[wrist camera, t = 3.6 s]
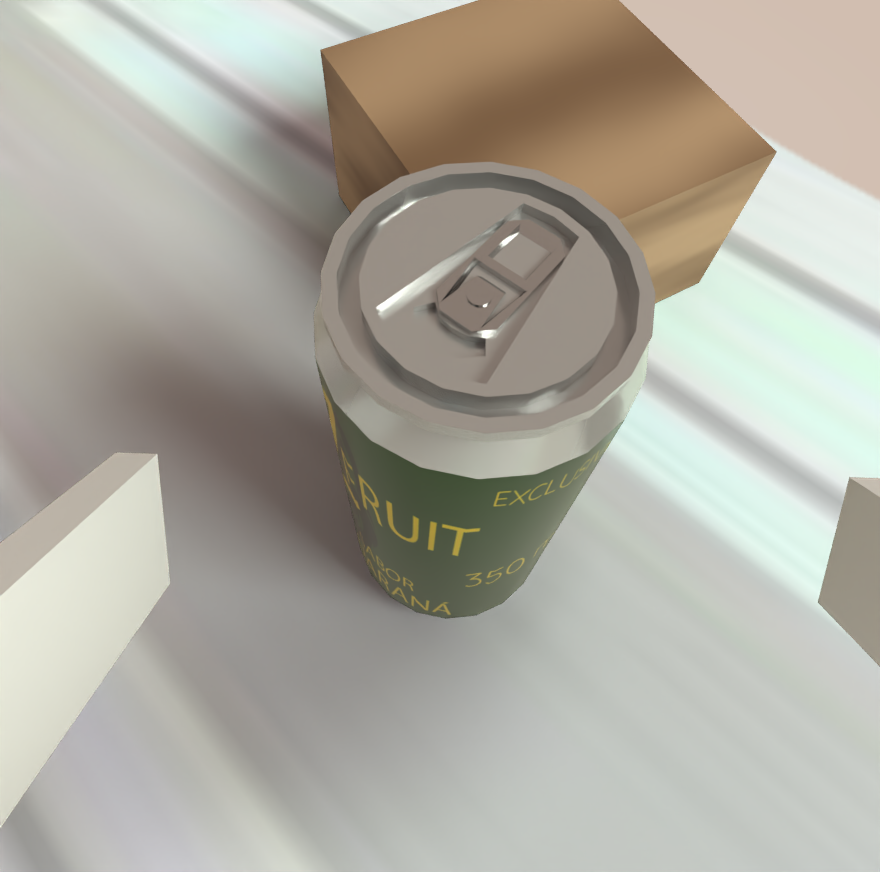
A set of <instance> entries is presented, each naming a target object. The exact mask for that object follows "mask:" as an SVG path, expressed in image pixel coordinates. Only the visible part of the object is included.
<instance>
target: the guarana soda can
mask: <svg viewBox="0 0 880 872" xmlns="http://www.w3.org/2000/svg"><path fill="white" fill-rule="evenodd" d="M655 295H656V293H655V290H654V287H653V283H652V280H651V277H650V273H649V270H648V267H647V264H646V260H645V257H644V254H643V252H642V250H641V249H640V248H639V246H638V245H637V243H636V242H635V241H634V239H633V238H632V236H631V235H630V234H629V232H628V231H627V230H626V228H625V227H624V225H623V224H622V223H621V221H620V220H619V219H618V217H617V216H615V215H614V214H613V213H612V212H610V211H609V210H608V209H606V208H605V207H604V206H603V205H601V204H600V203H599V202H597V201H596V200H595V199H594V198H592V197H591V196H590V195H588V194H587V193H586V192H584V191H583V190H582V189H580V188H578V187H576V186H573V185H571V184H569V183H566V182H564V181H562V180H559V179H557V178H555V177H553V176H550V175H548V174H546V173H543V172H541V171H539V170H534V169H529V168H523V167H518V166H512V165H506V164H501V163H495V162H476V163H456V164H443V165H439V166H436V167H432V168H429V169H426V170H422V171H419V172H416V173H412V174H409V175H406V176H402V177H399V178H398V179H396V180H395V181H393V182H391V183H390V184H388V185H387V186H385V187H383V188H382V189H380V190H379V191H377V192H375V193H374V194H372V195H371V196H369V197H367V198H366V199H364V200H362V202H361V203H360V204H359V205H358V206H357V207H356V209H355V210H354V211H353V212H352V213H351V215H350V216H349V217H348V218H347V219H346V220H345V222H344V223H343V224H342V225H341V226H340V227H339V229H338V230H337V231H336V232H335V234H334V237H333V239H332V242H331V245H330V248H329V250H328V253H327V256H326V259H325V261H324V264H323V267H322V270H321V294H320V296H319V299H318V302H317V305H316V308H315V310H314V337H315V359H316V363H317V367H318V371H319V376H320V380H321V384H322V388H323V393H324V397H325V401H326V405H327V409H328V414H329V418H330V422H331V426H332V431H333V435H334V439H335V443H336V447H337V452H338V456H339V460H340V464H341V468H342V473H343V477H344V481H345V485H346V490H347V494H348V498H349V502H350V506H351V511H352V515H353V519H354V523H355V527H356V532H357V536H358V540H359V544H360V548H361V551H362V553H363V556H364V558H365V561H366V563H367V566H368V568H369V570H370V573H371V575H372V576H373V577H374V578H375V580H376V581H377V582H378V583H379V584H380V585H381V586H382V588H383V589H384V590H385V591H386V592H387V593H388V595H389V596H390V597H392V598H393V599H395V600H397V601H398V602H400V603H402V604H404V605H405V606H407V607H409V608H410V609H412V610H414V611H415V612H418V613H423V614H428V615H432V616H437V617H441V618H455V617H465V616H474V615H478V614H480V613H482V612H484V611H486V610H489V609H491V608H493V607H495V606H497V605H500V604H502V603H503V602H504V601H505V600H506V599H507V598H509V597H510V596H511V595H512V594H513V593H514V592H515V591H516V590H517V589H518V588H519V587H520V586H521V585H522V584H523V583H524V582H525V580H526V579H527V577H528V575H529V574H530V572H531V570H532V569H533V567H534V566H535V564H536V562H537V561H538V559H539V557H540V556H541V554H542V553H543V551H544V549H545V548H546V546H547V544H548V543H549V541H550V540H551V538H552V536H553V535H554V533H555V532H556V530H557V528H558V527H559V525H560V523H561V522H562V520H563V519H564V517H565V515H566V514H567V512H568V510H569V509H570V507H571V506H572V504H573V502H574V501H575V499H576V497H577V496H578V494H579V493H580V491H581V489H582V488H583V486H584V484H585V483H586V481H587V480H588V478H589V476H590V475H591V473H592V472H593V470H594V468H595V467H596V465H597V463H598V462H599V460H600V459H601V457H602V455H603V454H604V452H605V450H606V449H607V447H608V446H609V444H610V442H611V441H612V439H613V437H614V436H615V434H616V433H617V431H618V429H619V428H620V426H621V424H622V423H623V421H624V420H625V418H626V416H627V414H628V412H629V410H630V408H631V406H632V404H633V402H634V400H635V398H636V396H637V394H638V392H639V390H640V388H641V386H642V384H643V382H644V380H645V378H646V370H647V358H648V346H649V341H650V339H651V337H652V330H653V318H654V306H655Z"/></svg>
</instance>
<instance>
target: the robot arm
mask: <svg viewBox="0 0 880 872" xmlns="http://www.w3.org/2000/svg"><path fill="white" fill-rule="evenodd" d="M169 584H170V575H169V565H168V555H167V545H166V535H165V525H164V516H163V506H162V496H161V486H160V476H159V466H158V456H157V454H147V453H117V452H116V453H115V454H113V455H112V456H111V457H109V458H108V459H107V460H106V461H104V462H103V463H102V464H101V465H99V466H98V467H97V468H95V469H94V470H93V471H92V472H90V473H89V474H88V475H87V476H85V477H84V478H83V479H81V480H80V481H79V482H78V483H76V484H75V485H74V486H72V487H71V488H70V489H69V490H67V491H66V492H65V493H64V494H62V495H61V496H60V497H58V498H57V499H56V500H55V501H53V502H52V503H51V504H50V505H48V506H47V507H46V508H44V509H43V510H42V511H41V512H39V513H38V514H37V515H35V516H34V517H33V518H32V519H30V520H29V521H28V522H27V523H25V524H24V525H23V526H21V527H20V528H19V529H18V530H16V531H15V532H14V533H13V534H11V535H10V536H9V537H7V538H6V539H5V540H4V541H2V542H1V543H0V828H1V827H2V825H3V824H4V822H5V821H6V819H7V818H8V816H9V815H10V814H11V812H12V811H13V809H14V808H15V806H16V805H17V803H18V802H19V801H20V799H21V798H22V796H23V795H24V793H25V792H26V790H27V789H28V788H29V786H30V785H31V783H32V782H33V780H34V779H35V777H36V776H37V775H38V773H39V772H40V770H41V769H42V767H43V766H44V765H45V763H46V762H47V760H48V759H49V757H50V756H51V754H52V753H53V752H54V750H55V749H56V747H57V746H58V744H59V743H60V741H61V740H62V739H63V737H64V736H65V734H66V733H67V731H68V730H69V728H70V727H71V726H72V724H73V723H74V721H75V720H76V718H77V717H78V715H79V714H80V713H81V711H82V710H83V708H84V707H85V705H86V704H87V702H88V701H89V700H90V698H91V697H92V695H93V694H94V692H95V691H96V689H97V688H98V687H99V685H100V684H101V682H102V681H103V679H104V678H105V677H106V675H107V674H108V672H109V671H110V669H111V668H112V666H113V665H114V664H115V662H116V661H117V659H118V658H119V656H120V655H121V653H122V652H123V651H124V649H125V648H126V646H127V645H128V643H129V642H130V640H131V639H132V638H133V636H134V635H135V633H136V632H137V630H138V629H139V627H140V626H141V625H142V623H143V622H144V620H145V619H146V617H147V616H148V614H149V613H150V612H151V610H152V609H153V607H154V606H155V604H156V603H157V601H158V600H159V599H160V597H161V596H162V594H163V593H164V591H165V590H166V588H167V587H168V586H169ZM818 603H819V604H820V605H821V606H822V607H823V608H824V609H825V610H826V611H827V612H828V613H829V614H830V615H831V616H832V617H833V618H834V620H835V621H836V622H837V623H838V624H839V625H840V626H841V627H842V628H843V629H844V630H845V631H846V632H847V633H848V634H849V635H850V636H851V637H852V638H853V639H854V640H855V641H856V642H857V643H858V644H859V645H860V646H861V647H862V649H863V650H864V651H865V652H866V653H867V654H868V655H869V656H870V657H871V658H872V659H873V660H874V661H875V662H876V663H877V664H878V665H879V666H880V478H856V477H849V481H848V485H847V489H846V493H845V497H844V501H843V505H842V509H841V513H840V517H839V521H838V525H837V529H836V533H835V537H834V540H833V544H832V548H831V552H830V556H829V560H828V564H827V568H826V572H825V576H824V580H823V584H822V588H821V592H820V596H819V600H818Z"/></svg>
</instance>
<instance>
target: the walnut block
mask: <svg viewBox="0 0 880 872" xmlns="http://www.w3.org/2000/svg"><path fill="white" fill-rule="evenodd" d="M321 58H322V65H323V73H324V81H325V89H326V97H327V105H328V112H329V120H330V128H331V136H332V144H333V151H334V159H335V167H336V175H337V183H338V190H339V196H340V197H341V199H342V200H343V202H344V204H345V205H346V207H347V208H348V210H349V211H350V213H352V212H353V211H354V210H355V209H356V207H357V206H358V205H359V204H360V203H361V202H362V200H364V199H366V198H367V197H369V196H371V195H372V194H374V193H375V192H377V191H379V190H380V189H382V188H383V187H385V186H387V185H388V184H390V183H391V182H393V181H395V180H396V179H398V178H399V177H402V176H406V175H409V174H412V173H416V172H419V171H422V170H426V169H429V168H432V167H436V166H439V165H443V164H456V163H476V162H495V163H501V164H506V165H512V166H518V167H523V168H529V169H534V170H539V171H541V172H543V173H546V174H548V175H550V176H553V177H555V178H557V179H559V180H562V181H564V182H566V183H569V184H571V185H573V186H576V187H578V188H580V189H582V190H583V191H584V192H586V193H587V194H588V195H590V196H591V197H592V198H594V199H595V200H596V201H597V202H599V203H600V204H601V205H603V206H604V207H605V208H606V209H608V210H609V211H610V212H612V213H613V214H614V215H615V216H617V217H618V219H619V220H620V221H621V223H622V224H623V225H624V227H625V228H626V230H627V231H628V232H629V234H630V235H631V236H632V238H633V239H634V241H635V242H636V243H637V245H638V246H639V248H640V249H641V250H642V252H643V254H644V257H645V260H646V264H647V267H648V270H649V273H650V277H651V280H652V283H653V287H654V290H655V293H656V295H655V303H657V302H659V301H661V300H663V299H665V298H667V297H670V296H672V295H674V294H676V293H678V292H680V291H682V290H684V289H686V288H689V287H691V286H693V285H695V284H697V283H699V282H700V280H701V278H702V277H703V275H704V273H705V272H706V270H707V268H708V267H709V265H710V263H711V261H712V260H713V258H714V256H715V255H716V253H717V251H718V250H719V248H720V246H721V245H722V243H723V241H724V240H725V238H726V236H727V235H728V233H729V231H730V230H731V228H732V226H733V224H734V223H735V221H736V219H737V218H738V216H739V214H740V213H741V211H742V209H743V208H744V206H745V204H746V203H747V201H748V199H749V198H750V196H751V194H752V193H753V191H754V189H755V188H756V186H757V184H758V182H759V181H760V179H761V177H762V176H763V174H764V172H765V171H766V169H767V167H768V166H769V164H770V162H771V161H772V159H773V157H774V156H775V154H776V151H775V150H774V149H773V148H772V147H771V146H770V145H769V144H768V143H767V142H766V141H765V140H764V139H763V138H762V137H761V136H760V135H759V134H758V133H757V132H755V131H754V130H753V129H752V128H751V127H750V126H749V125H748V124H747V123H746V122H745V121H744V120H743V119H742V118H741V117H740V116H739V115H738V114H737V113H736V112H735V111H734V110H733V109H731V108H730V107H729V106H728V105H727V104H726V103H725V102H724V101H723V100H722V99H721V98H720V97H719V96H718V95H717V94H716V93H715V92H714V91H713V90H712V89H711V88H710V87H708V86H707V84H705V83H704V82H703V81H702V80H701V79H700V78H699V77H698V76H697V75H696V74H695V73H694V72H693V71H692V70H691V69H690V68H689V67H688V66H687V65H686V64H685V63H684V62H683V61H681V60H680V59H679V58H678V57H677V56H676V55H675V54H674V53H673V52H672V51H671V50H670V49H669V48H668V47H667V46H666V45H665V44H664V43H662V41H661V40H660V39H659V38H658V37H657V36H655V35H654V34H653V33H652V32H651V31H650V30H649V29H648V28H647V27H646V26H645V25H644V24H643V23H642V22H641V21H640V20H639V19H638V18H637V17H636V16H635V15H634V14H633V13H631V12H630V11H629V10H628V9H627V8H626V7H625V6H624V5H623V4H622V3H621V2H620V1H619V0H478V1H475V2H471V3H468V4H465V5H462V6H459V7H456V8H452V9H449V10H446V11H443V12H440V13H436V14H433V15H430V16H427V17H424V18H421V19H417V20H414V21H411V22H408V23H405V24H401V25H398V26H395V27H392V28H389V29H386V30H382V31H379V32H376V33H373V34H370V35H366V36H363V37H360V38H357V39H354V40H350V41H347V42H344V43H341V44H338V45H335V46H331V47H328V48H325V49H322V50H321Z"/></svg>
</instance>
